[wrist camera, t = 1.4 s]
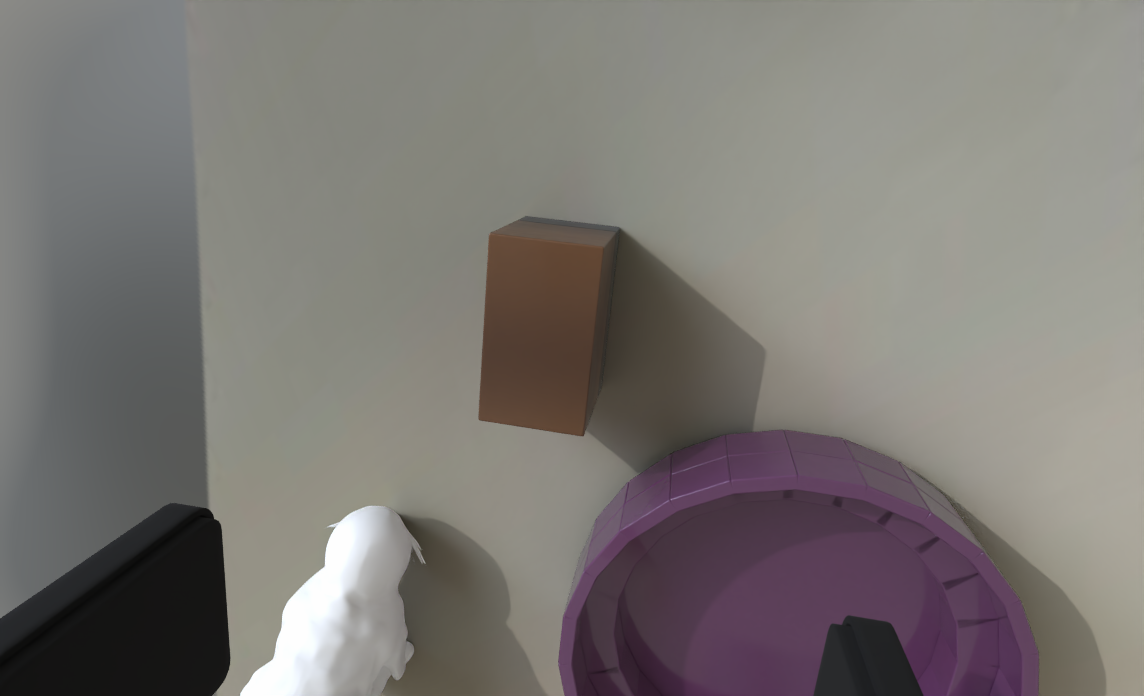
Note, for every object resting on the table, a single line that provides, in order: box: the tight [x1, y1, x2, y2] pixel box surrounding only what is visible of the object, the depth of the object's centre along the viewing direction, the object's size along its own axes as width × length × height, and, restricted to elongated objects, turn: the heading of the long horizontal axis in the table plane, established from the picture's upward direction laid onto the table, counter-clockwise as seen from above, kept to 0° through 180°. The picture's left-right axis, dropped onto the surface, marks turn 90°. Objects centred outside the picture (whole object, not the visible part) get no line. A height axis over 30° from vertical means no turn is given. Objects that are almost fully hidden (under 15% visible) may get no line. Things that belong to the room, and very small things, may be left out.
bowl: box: [558, 430, 1039, 696], centre depth 30 cm, size 18×18×5 cm
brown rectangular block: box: [478, 216, 620, 436], centre depth 27 cm, size 7×4×6 cm, turn 174°
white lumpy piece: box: [240, 506, 425, 696], centre depth 32 cm, size 6×8×12 cm
